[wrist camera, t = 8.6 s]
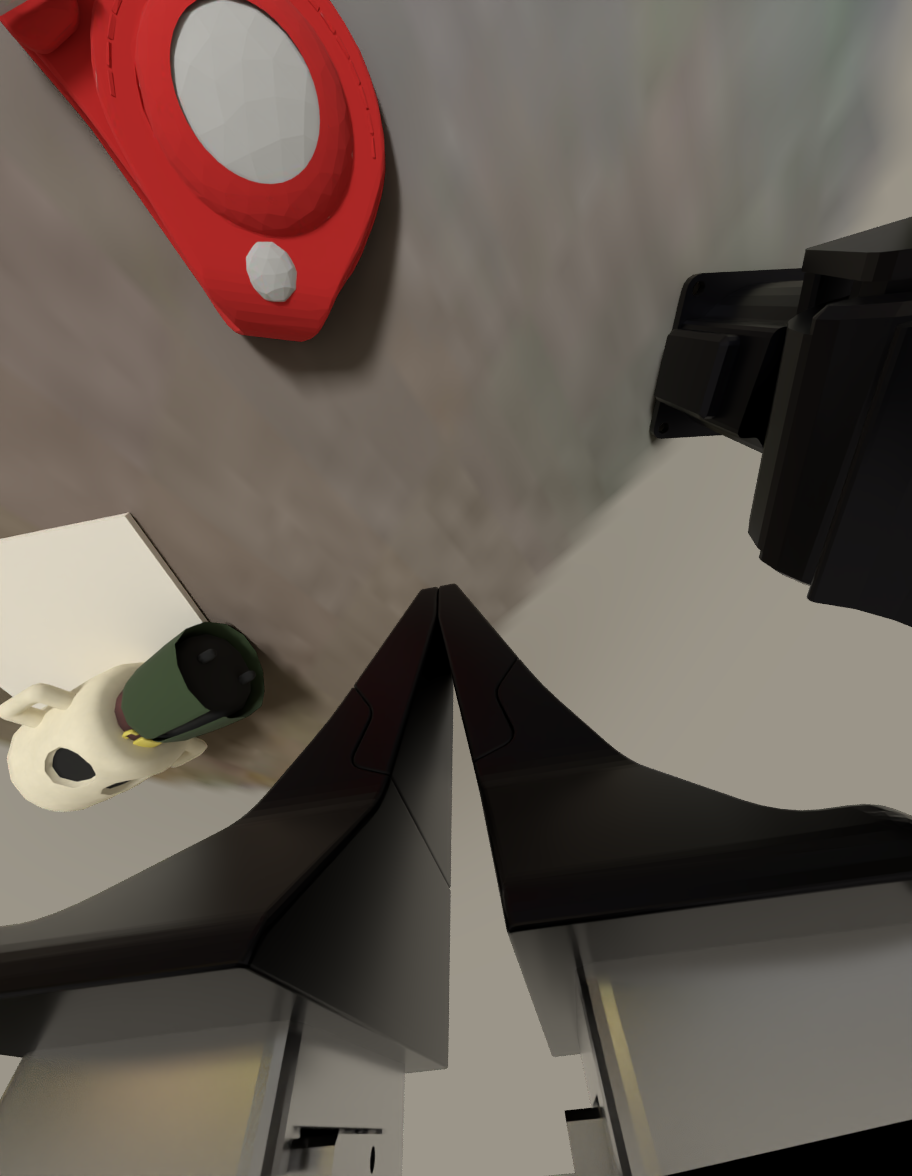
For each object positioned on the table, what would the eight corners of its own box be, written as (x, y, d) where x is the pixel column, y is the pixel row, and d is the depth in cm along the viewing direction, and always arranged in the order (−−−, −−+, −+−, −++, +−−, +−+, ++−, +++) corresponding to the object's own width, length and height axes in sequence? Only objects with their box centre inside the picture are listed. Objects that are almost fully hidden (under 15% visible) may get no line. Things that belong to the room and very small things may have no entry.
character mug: (298, 748, 25) (143, 827, 27) (302, 658, 30) (171, 730, 32) (120, 672, 18) (-76, 790, 20) (165, 569, 23) (6, 671, 25)
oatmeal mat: (129, 512, 21) (124, 516, 21) (253, 684, 29) (251, 689, 29) (-141, 567, 22) (-149, 571, 22) (52, 719, 30) (48, 724, 30)
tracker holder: (390, -84, 11) (395, 338, 15) (371, 48, 15) (379, 355, 19) (-267, -362, 7) (-43, 289, 11) (-66, -92, 11) (51, 323, 15)
